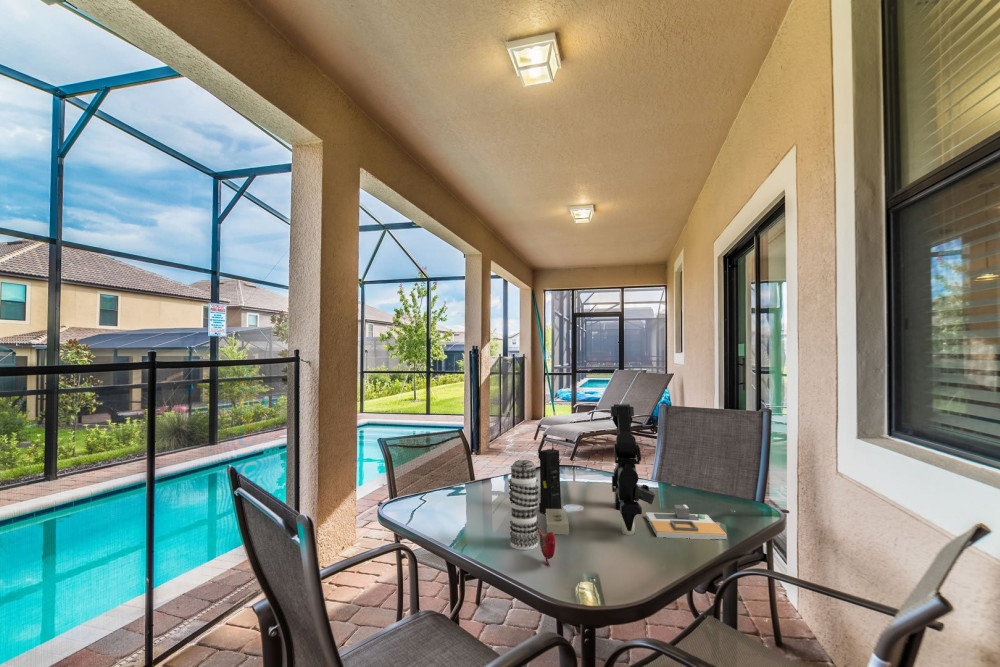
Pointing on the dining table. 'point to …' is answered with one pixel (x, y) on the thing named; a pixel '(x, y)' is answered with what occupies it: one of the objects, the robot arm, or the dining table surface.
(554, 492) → the portable radio
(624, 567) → the dining table surface
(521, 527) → the decorative candle
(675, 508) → the block
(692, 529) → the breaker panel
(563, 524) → the electrical outlet
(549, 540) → the decorative bird figurine
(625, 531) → the lockout cap
